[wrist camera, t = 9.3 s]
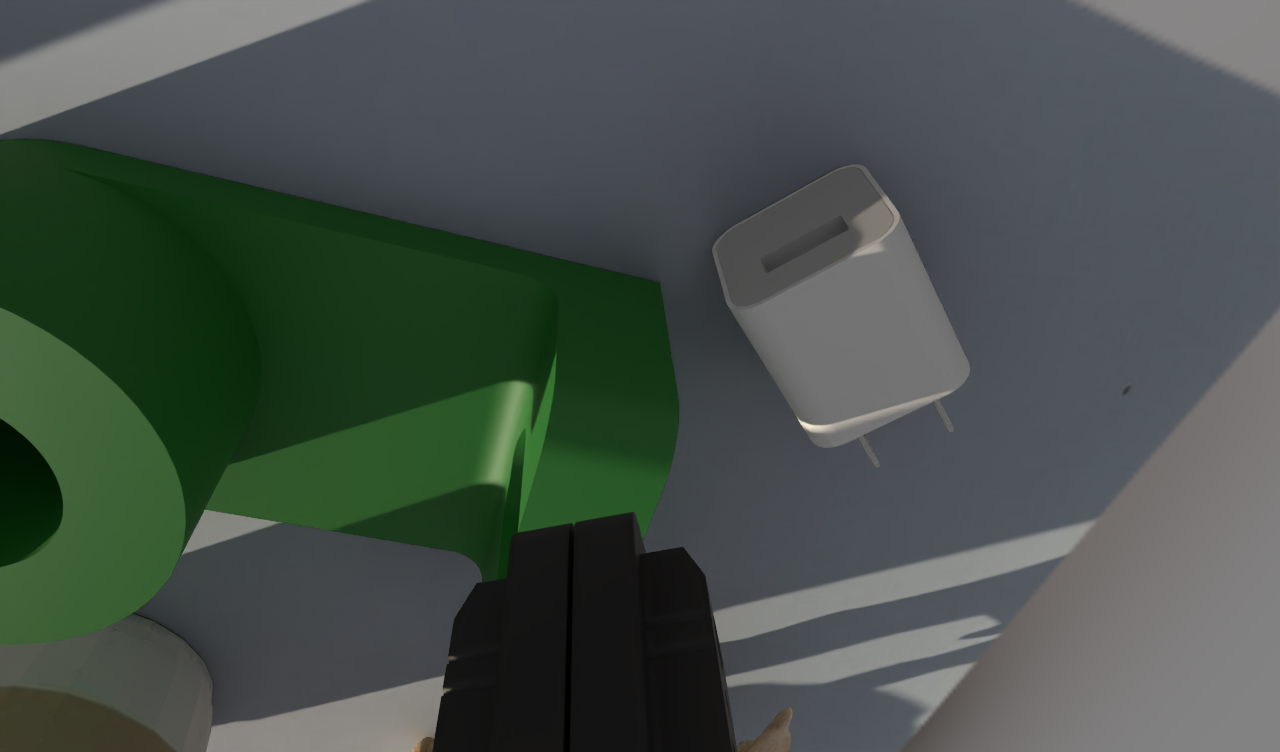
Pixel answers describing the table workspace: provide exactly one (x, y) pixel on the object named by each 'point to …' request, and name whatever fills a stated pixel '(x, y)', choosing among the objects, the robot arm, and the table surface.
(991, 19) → the table surface
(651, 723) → the robot arm
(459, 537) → the slotted cylinder bracket
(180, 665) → the coffee cup
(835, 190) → the usb wall charger
